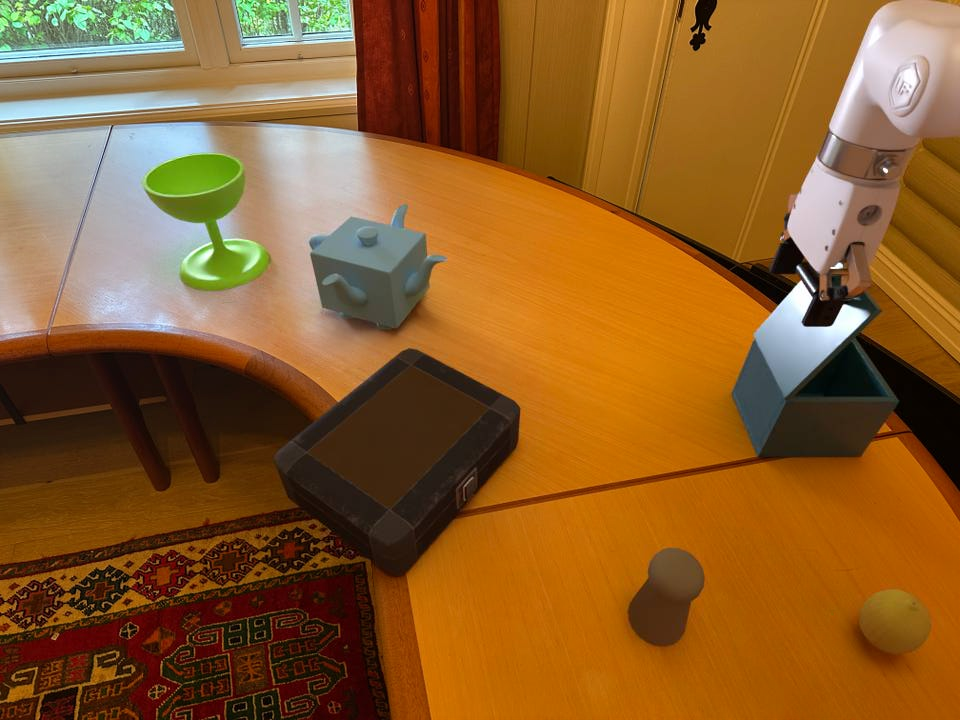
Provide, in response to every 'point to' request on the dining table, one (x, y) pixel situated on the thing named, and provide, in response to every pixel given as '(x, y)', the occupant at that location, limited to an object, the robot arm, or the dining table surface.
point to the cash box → (399, 457)
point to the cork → (666, 597)
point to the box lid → (809, 332)
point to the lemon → (895, 621)
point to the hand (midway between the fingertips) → (798, 297)
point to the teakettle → (372, 269)
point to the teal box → (814, 407)
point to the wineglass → (207, 216)
